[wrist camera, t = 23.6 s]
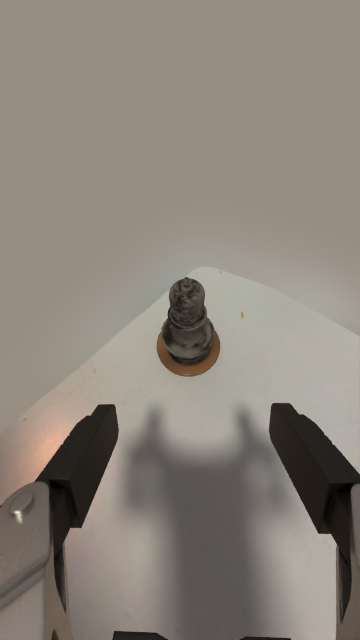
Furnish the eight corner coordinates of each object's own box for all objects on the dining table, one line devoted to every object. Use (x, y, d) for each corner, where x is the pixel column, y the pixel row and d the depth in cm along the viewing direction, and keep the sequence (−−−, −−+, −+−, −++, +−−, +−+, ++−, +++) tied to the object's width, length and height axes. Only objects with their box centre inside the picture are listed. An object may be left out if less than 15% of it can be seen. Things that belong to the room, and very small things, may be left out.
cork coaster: (145, 356, 23) (144, 355, 23) (177, 310, 26) (176, 308, 26) (202, 389, 21) (202, 388, 20) (229, 333, 24) (230, 332, 24)
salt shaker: (220, 342, 23) (245, 272, 13) (191, 378, 21) (193, 330, 11) (184, 317, 25) (181, 239, 15) (155, 348, 23) (127, 283, 13)
